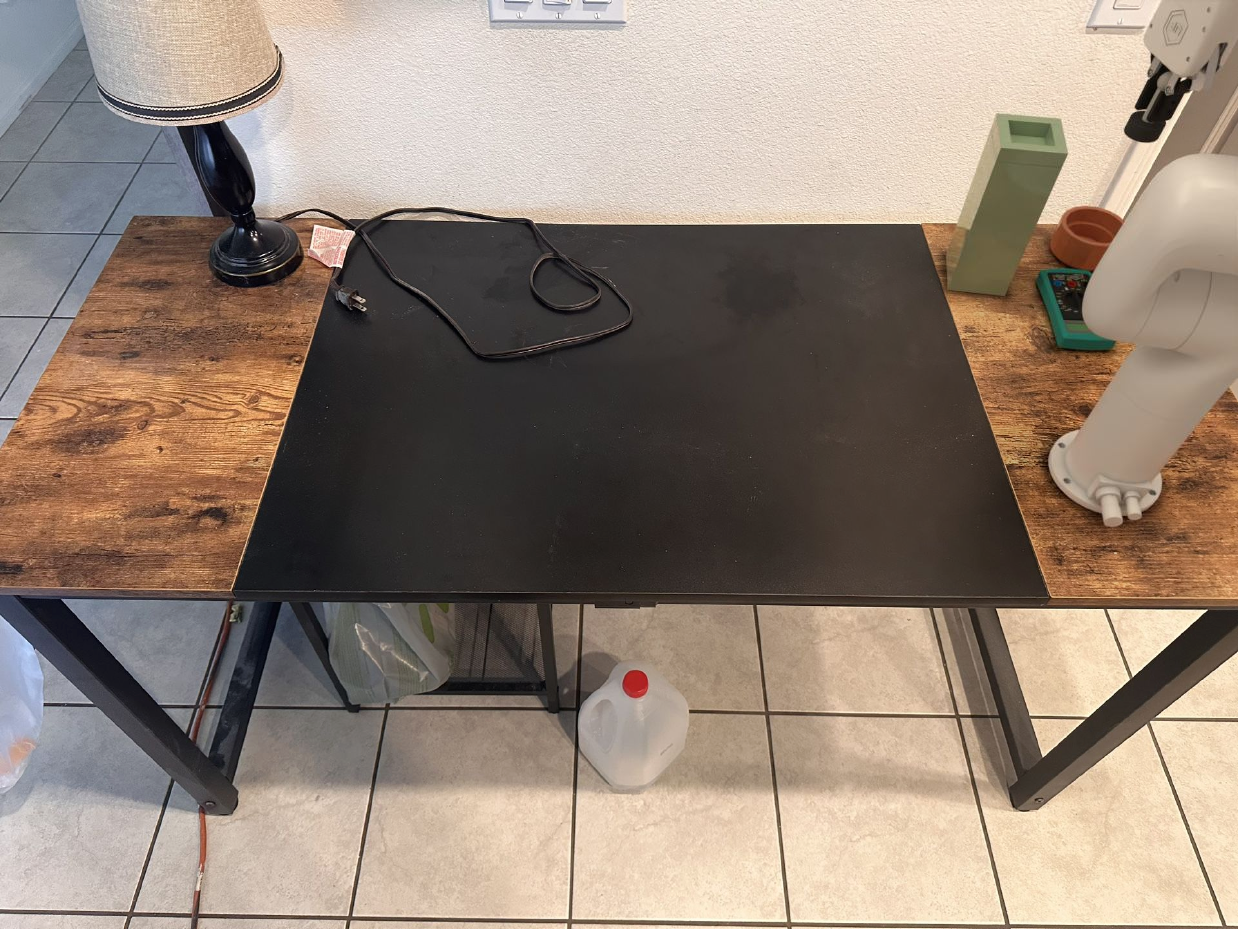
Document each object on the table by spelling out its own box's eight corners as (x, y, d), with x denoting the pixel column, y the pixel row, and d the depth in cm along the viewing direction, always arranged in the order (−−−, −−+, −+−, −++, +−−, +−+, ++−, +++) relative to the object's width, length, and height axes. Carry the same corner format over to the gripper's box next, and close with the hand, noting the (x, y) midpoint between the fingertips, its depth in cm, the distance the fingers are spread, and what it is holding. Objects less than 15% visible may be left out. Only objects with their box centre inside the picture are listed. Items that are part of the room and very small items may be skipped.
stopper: (1161, 144, 112) (1195, 83, 105) (1126, 141, 113) (1157, 80, 106) (1155, 125, 115) (1188, 65, 108) (1121, 122, 115) (1151, 62, 108)
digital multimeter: (1084, 281, 125) (1092, 265, 123) (1112, 353, 116) (1122, 337, 114) (1032, 279, 126) (1040, 263, 123) (1056, 351, 116) (1065, 335, 114)
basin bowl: (1119, 276, 126) (1135, 249, 122) (1051, 269, 127) (1065, 242, 123) (1109, 237, 131) (1124, 209, 127) (1045, 230, 132) (1057, 202, 128)
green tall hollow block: (1004, 296, 123) (1068, 153, 105) (947, 290, 124) (1001, 147, 106) (1000, 261, 128) (1061, 118, 110) (945, 255, 129) (996, 112, 111)
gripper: (1160, -64, 101) (1094, 85, 116) (1240, -2, 92) (1157, 152, 106) (1219, -69, 102) (1146, 79, 116) (1305, -9, 92) (1213, 145, 107)
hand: (1152, 113), depth 111 cm, fingers closed on stopper, 2 cm apart
